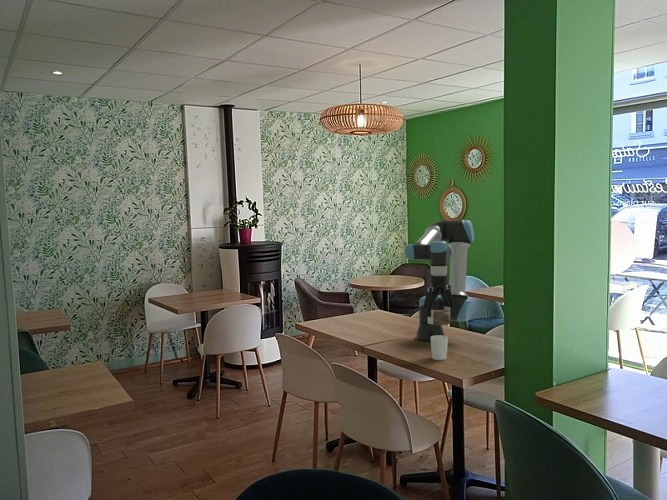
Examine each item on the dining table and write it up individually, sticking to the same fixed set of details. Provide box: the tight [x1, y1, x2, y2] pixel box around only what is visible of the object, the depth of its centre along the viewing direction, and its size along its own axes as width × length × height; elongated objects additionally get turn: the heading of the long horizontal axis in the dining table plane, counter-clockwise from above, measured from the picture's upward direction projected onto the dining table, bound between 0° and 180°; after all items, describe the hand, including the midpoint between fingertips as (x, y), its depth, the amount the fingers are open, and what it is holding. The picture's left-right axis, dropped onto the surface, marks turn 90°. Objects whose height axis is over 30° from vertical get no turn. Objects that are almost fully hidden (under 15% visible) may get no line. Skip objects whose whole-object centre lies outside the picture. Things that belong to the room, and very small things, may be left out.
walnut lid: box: [427, 310, 451, 326], centre depth 257 cm, size 10×10×5 cm
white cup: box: [430, 335, 449, 361], centre depth 258 cm, size 8×8×10 cm
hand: (438, 322), depth 257 cm, fingers closed on walnut lid, 10 cm apart
